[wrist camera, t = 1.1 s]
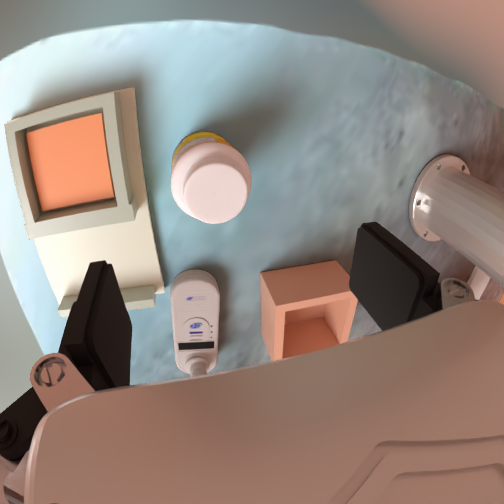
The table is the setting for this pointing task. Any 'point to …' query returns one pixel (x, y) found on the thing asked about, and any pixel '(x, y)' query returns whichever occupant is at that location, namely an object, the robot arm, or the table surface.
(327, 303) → the cup
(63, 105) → the cream tray with frame
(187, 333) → the electronic device
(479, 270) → the hard drive
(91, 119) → the cradle plate
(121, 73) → the table surface
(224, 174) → the supplement bottle
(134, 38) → the table surface
